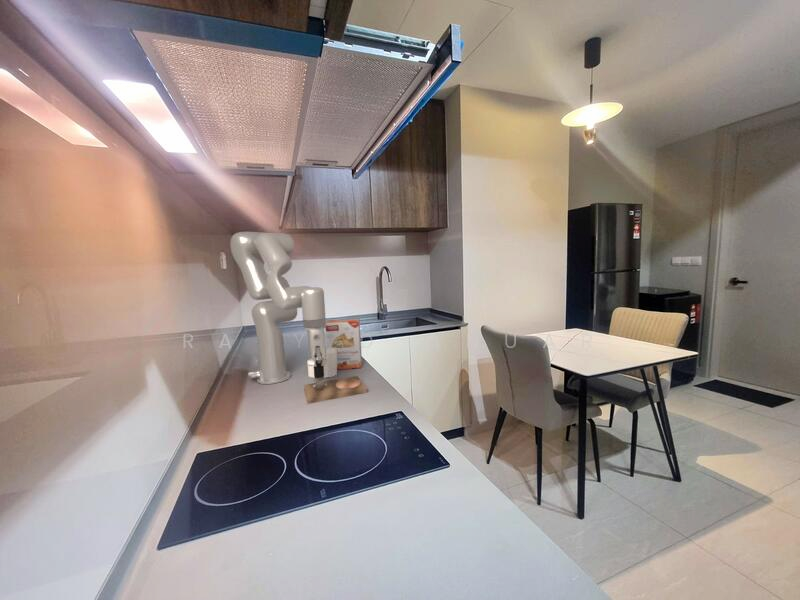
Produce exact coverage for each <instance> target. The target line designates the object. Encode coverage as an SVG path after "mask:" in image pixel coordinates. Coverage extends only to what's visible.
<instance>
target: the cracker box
mask: <svg viewBox="0 0 800 600" xmlns="http://www.w3.org/2000/svg"><path fill="white" fill-rule="evenodd" d="M325 337H326V338H325V339H326V349H336V350H337V370H353V369H352V368H357V369H361V368H362V365H363V360H362V359H363V358H362V357H363V356H362V340H361V323H360V318H355V319H354V318H353V319H352V318H351V319H329V320H326V327H325Z"/></svg>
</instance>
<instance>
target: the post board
mask: <svg viewBox="0 0 800 600" xmlns="http://www.w3.org/2000/svg"><path fill="white" fill-rule="evenodd" d="M303 389H304V395H305V400H306V404H307V405H308V404H314V403H315V404H316V403H318V402H319V403H320V402H325V401H329V400H331V401H332V400H335V399H341V398H346V397H350V396H355V395H362V394H367V393H368V388H367V386H366V385H365V384H364V383H363V380H361V379H360V377H359V376H358V375H354V376H349V377H348V376H347V377H344V378H337V379H331V380H327V381H326V380H325V379H324V377H320V378H314V382H313V383H307V384H303Z"/></svg>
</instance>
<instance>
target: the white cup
mask: <svg viewBox="0 0 800 600" xmlns="http://www.w3.org/2000/svg"><path fill="white" fill-rule="evenodd" d="M322 357H323V358H326V359H327V370H328V374H327V375H325V376H324V378H325V379H326V377H329V378H333V377H336V376H337V375H338V369H337V350H336V349H327V348H326V357H324V356H323V355H322ZM335 375H336V376H335Z"/></svg>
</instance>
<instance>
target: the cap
mask: <svg viewBox="0 0 800 600" xmlns="http://www.w3.org/2000/svg"><path fill="white" fill-rule="evenodd" d="M316 360H317V359H316ZM322 360H323V366H324V376H325V375H327V374H328V370H327V359H326V358H323V357H322ZM306 362H307V363H306V364H307V374H308V377H309V378H314V379H315V377H314V359H313V358H312V357H311V358H310V359H307V360H306Z"/></svg>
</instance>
